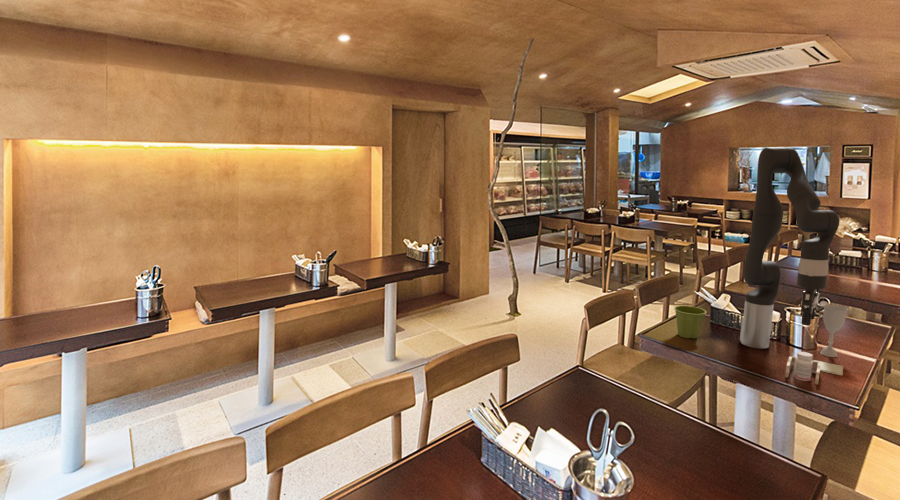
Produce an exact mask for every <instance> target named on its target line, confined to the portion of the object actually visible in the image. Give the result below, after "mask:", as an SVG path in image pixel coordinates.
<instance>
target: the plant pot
mask: <svg viewBox="0 0 900 500" xmlns="http://www.w3.org/2000/svg"><path fill="white" fill-rule="evenodd" d="M673 309H674V310H675V316H676V327H677V328H676V329H677V334H678V335H679V337H681V338H685V339H697V338H698V336H699V333H700V329H701V326H702V322H703V319H704V318H705V315H706V314H707V310H705V309H704V308H701V307H697V306H692V305H675V306H674V307H673Z"/></svg>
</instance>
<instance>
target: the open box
mask: <svg viewBox="0 0 900 500" xmlns="http://www.w3.org/2000/svg"><path fill="white" fill-rule="evenodd" d="M796 358H797V356H793V355H789V357H788V360H787V362H786V368H785V374H784V377H785V378H789V375H790V373H791V369H793V370H794V364H795V359H796ZM812 361H813V368H812V374H815V379H814V384H815V385H819V382H820V381H819V379H820V374H821V371H820V367H821V362H822V361H820V362H817V361H818V360H815V361H814V360H812Z"/></svg>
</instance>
